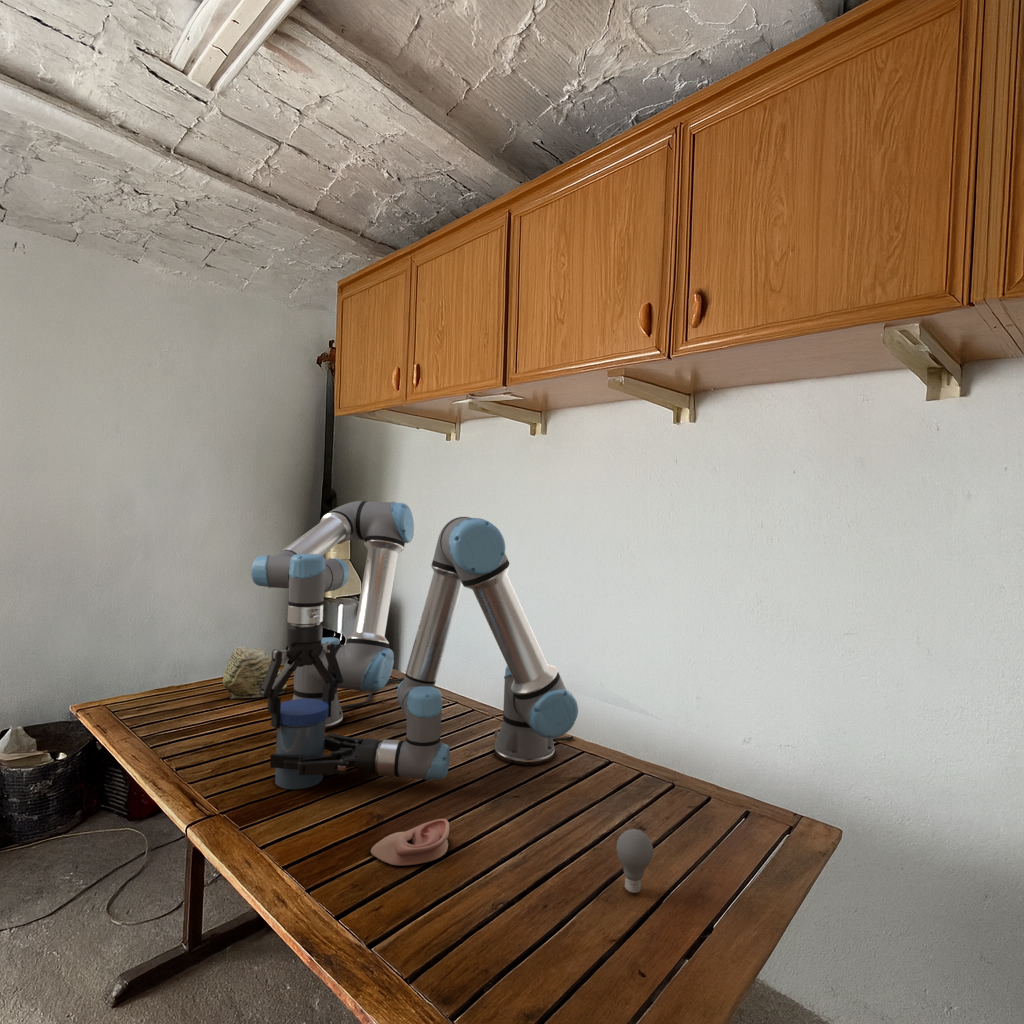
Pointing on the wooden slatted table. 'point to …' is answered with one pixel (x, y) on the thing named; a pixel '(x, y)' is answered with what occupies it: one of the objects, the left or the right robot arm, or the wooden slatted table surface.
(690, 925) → the wooden slatted table surface
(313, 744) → the jar
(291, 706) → the lid
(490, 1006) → the wooden slatted table surface
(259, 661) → the fossil
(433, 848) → the anatomical model
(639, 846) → the light bulb
